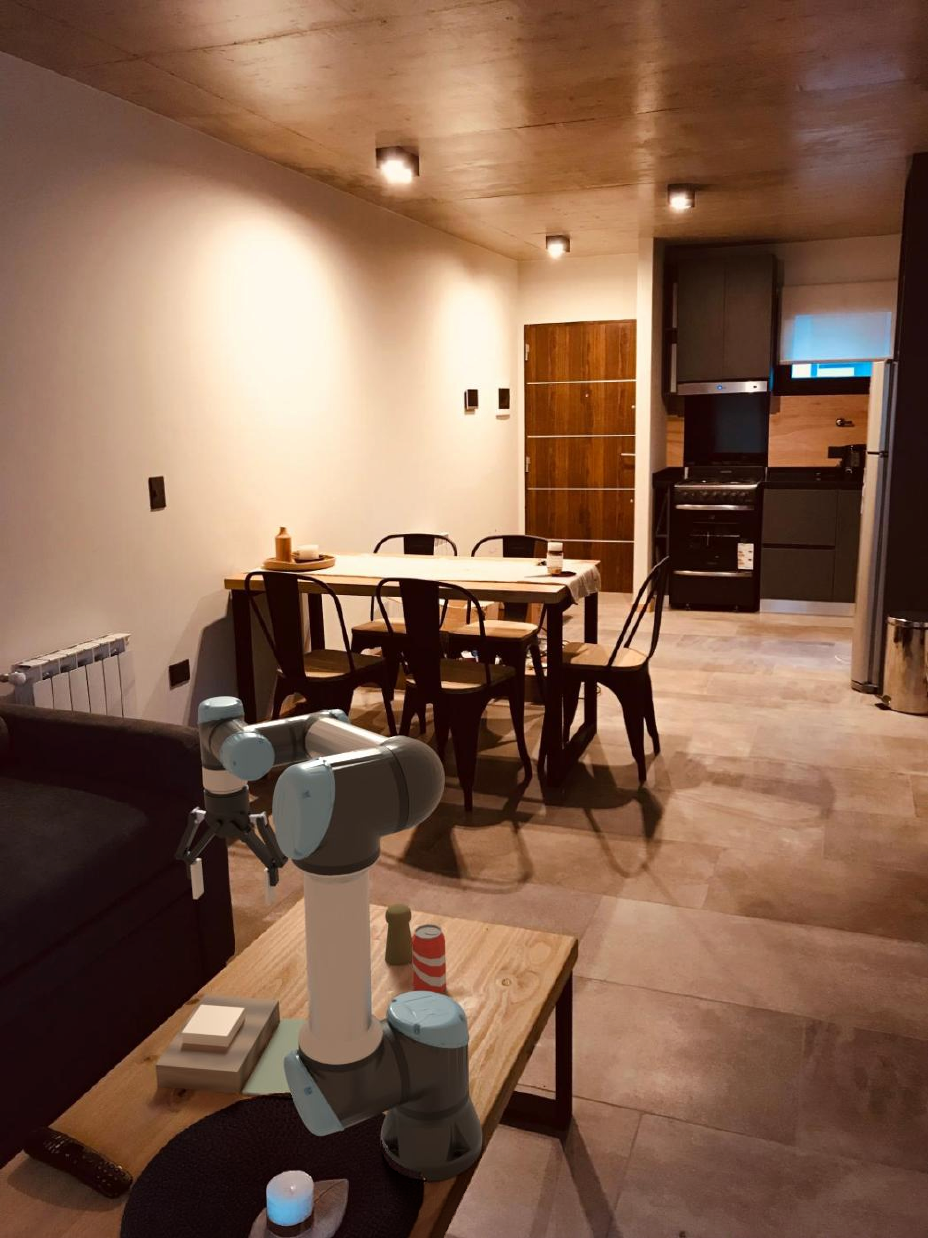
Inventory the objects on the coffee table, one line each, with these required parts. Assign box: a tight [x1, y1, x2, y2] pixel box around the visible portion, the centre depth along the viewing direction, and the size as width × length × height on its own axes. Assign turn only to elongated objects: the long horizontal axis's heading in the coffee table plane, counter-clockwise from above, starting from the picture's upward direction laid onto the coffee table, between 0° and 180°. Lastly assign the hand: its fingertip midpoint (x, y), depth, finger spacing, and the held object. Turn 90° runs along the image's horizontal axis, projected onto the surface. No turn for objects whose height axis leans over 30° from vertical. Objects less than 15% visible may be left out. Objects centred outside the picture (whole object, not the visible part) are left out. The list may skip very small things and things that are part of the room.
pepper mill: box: [384, 903, 413, 967], centre depth 202 cm, size 6×6×11 cm
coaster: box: [182, 1005, 245, 1047], centre depth 175 cm, size 8×8×2 cm
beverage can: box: [411, 923, 447, 994], centre depth 191 cm, size 6×6×12 cm
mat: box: [241, 1017, 308, 1096], centre depth 173 cm, size 20×15×1 cm
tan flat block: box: [155, 994, 281, 1094], centre depth 175 cm, size 20×14×4 cm
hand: (234, 898), depth 180 cm, fingers open, 13 cm apart
